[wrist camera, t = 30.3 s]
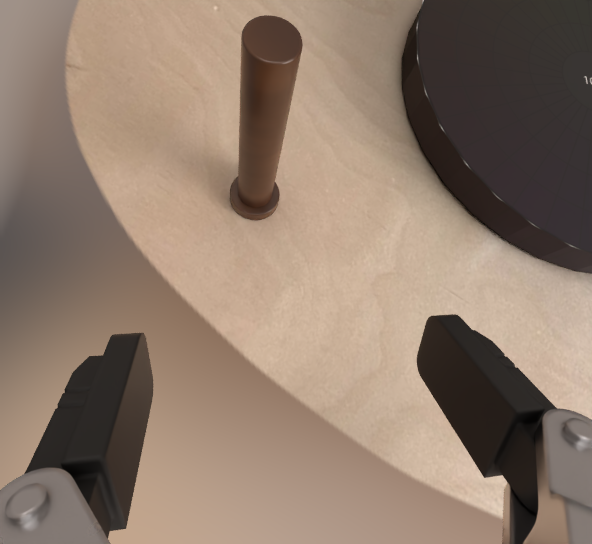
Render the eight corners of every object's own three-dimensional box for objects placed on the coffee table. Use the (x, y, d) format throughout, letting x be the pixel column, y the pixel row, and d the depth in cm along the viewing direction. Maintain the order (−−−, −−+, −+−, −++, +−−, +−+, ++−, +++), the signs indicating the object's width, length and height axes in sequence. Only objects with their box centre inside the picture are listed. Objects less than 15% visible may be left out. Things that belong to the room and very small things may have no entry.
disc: (650, -10, 39) (684, -41, 36) (772, 269, 31) (827, 258, 28) (375, -42, 33) (388, -81, 31) (436, 285, 26) (461, 273, 23)
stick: (244, 228, 24) (254, 86, 13) (221, 188, 25) (211, 17, 13) (286, 208, 25) (332, 59, 14) (263, 170, 26) (289, -6, 14)
